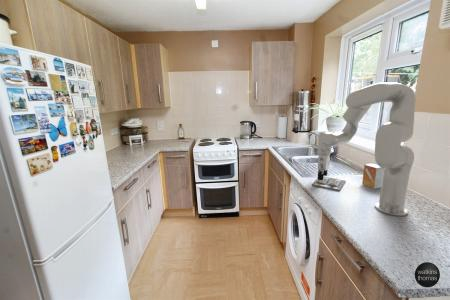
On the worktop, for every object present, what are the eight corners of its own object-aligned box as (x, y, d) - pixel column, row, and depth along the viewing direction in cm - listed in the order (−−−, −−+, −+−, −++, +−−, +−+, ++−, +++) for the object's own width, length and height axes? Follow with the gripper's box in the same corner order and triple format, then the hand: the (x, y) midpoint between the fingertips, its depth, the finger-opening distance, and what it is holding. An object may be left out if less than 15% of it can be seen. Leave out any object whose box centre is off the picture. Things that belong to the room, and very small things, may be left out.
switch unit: (339, 191, 126) (340, 187, 125) (311, 185, 135) (311, 182, 135) (345, 182, 139) (345, 178, 139) (319, 177, 149) (319, 174, 149)
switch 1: (323, 184, 134) (323, 176, 133) (318, 183, 136) (318, 175, 135) (324, 182, 136) (325, 175, 135) (319, 181, 138) (319, 174, 137)
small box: (361, 184, 135) (364, 164, 132) (369, 182, 137) (371, 163, 134) (374, 188, 128) (376, 167, 125) (382, 187, 129) (384, 166, 127)
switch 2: (335, 186, 130) (336, 179, 129) (329, 185, 132) (330, 178, 131) (336, 185, 132) (337, 177, 131) (331, 184, 134) (331, 176, 133)
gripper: (327, 155, 124) (325, 182, 128) (333, 149, 137) (331, 174, 141) (313, 153, 129) (312, 180, 132) (321, 148, 142) (319, 172, 146)
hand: (322, 177), depth 137 cm, fingers open, 9 cm apart
